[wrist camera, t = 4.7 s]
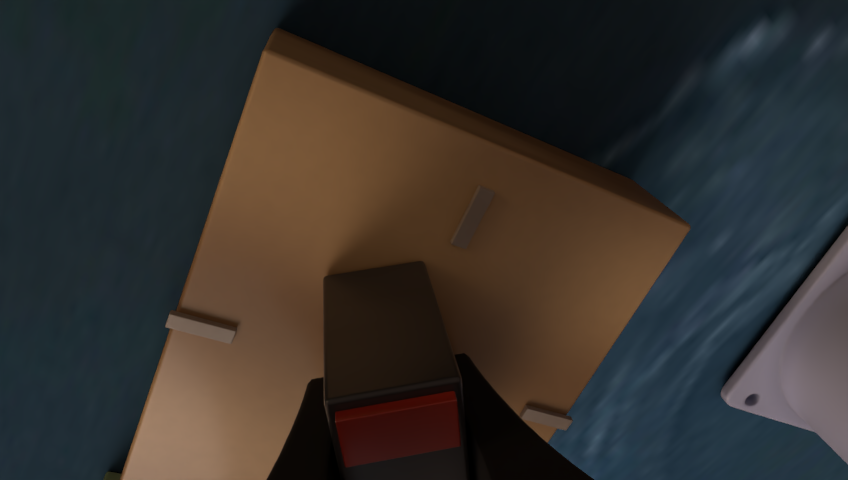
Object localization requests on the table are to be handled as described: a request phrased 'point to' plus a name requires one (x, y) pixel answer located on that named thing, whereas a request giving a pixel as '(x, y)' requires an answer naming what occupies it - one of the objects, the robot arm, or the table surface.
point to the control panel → (388, 257)
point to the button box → (112, 476)
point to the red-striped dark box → (391, 378)
